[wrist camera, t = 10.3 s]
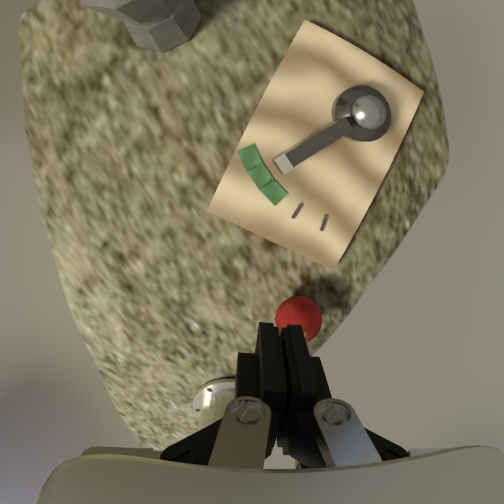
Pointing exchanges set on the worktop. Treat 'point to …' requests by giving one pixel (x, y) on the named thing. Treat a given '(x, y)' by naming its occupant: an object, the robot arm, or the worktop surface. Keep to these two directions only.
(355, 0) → the worktop surface
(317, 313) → the onion
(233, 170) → the tuner board
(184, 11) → the coffeepot
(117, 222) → the worktop surface
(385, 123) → the dial
